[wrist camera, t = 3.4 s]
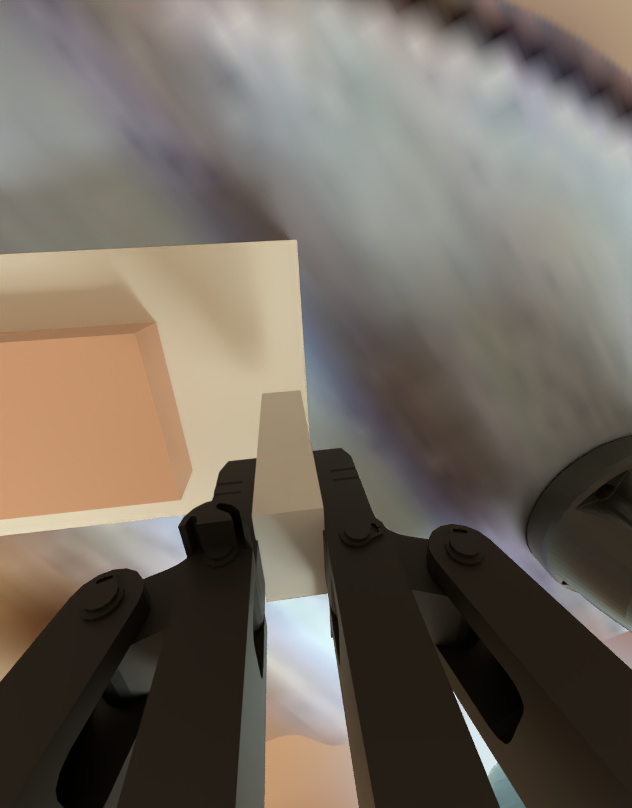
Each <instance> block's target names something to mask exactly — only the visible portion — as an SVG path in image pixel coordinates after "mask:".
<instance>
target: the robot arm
mask: <svg viewBox="0 0 632 808" xmlns="http://www.w3.org/2000/svg"><path fill="white" fill-rule="evenodd" d="M178 528H179V531H180V535H181V538H182V541H183V544H184V548H185V551H186V554H187V559H185V560H184V561H182V562H181V563H179V564H178V565H176V566H174V567H172V568H170V569H168V570H165V571H163V572H160V573H158V574H155V575H153V576H150V577H148V578H145V579H142V577H141V576H140V575H139V573H138V572H137V571H134V570H130V569H127V568H126V569H115V570H111V571H109V572H106V573H103V574H101V575H98V576H97V577H95V578H94V579H92V580H90V581H89V582H87V583H86V584H84V585H83V586H82V587H81V588H80V589H79V590H78V591H77V592H76V593H75V594H74V595H73V596H72V597H71V598H70V599H69V600H68V601H67V602H66V604H65V605H64V606H63V607H62V608H61V610H60V611H59V612H58V613H57V614H56V616H55V617H54V618H53V619H52V620H51V622H50V623H49V624H48V625H47V626H46V628H45V629H44V630H43V631H42V632H41V634H40V635H39V636H38V637H37V638H36V640H35V641H34V642H33V643H32V644H31V646H30V647H29V648H28V649H27V650H26V652H25V653H24V654H23V655H22V657H21V658H20V659H19V660H18V661H17V663H16V664H15V665H14V666H13V667H12V669H11V670H10V671H9V672H8V673H7V675H6V676H5V677H4V678H3V679H2V681H1V682H0V808H264V794H265V787H264V786H265V729H266V663H267V624H266V619H265V597H266V602H271V601H278V600H285V599H292V598H299V597H306V596H313V595H320V594H327V593H328V597H329V605H330V626H331V638H332V637H333V640H334V646H335V653H336V660H337V666H338V673H339V679H340V686H341V692H342V699H343V706H344V712H345V719H346V725H347V732H348V738H349V745H350V752H351V758H352V765H353V771H354V778H355V784H356V791H357V797H358V804H359V808H632V669H630V668H629V667H628V666H627V665H626V664H625V663H624V662H623V661H622V660H621V659H620V658H618V657H617V656H616V655H615V654H614V653H613V652H612V651H611V650H610V649H609V648H608V647H607V646H605V645H604V644H603V643H602V642H601V641H600V640H599V639H598V638H597V637H596V636H595V635H593V634H592V633H591V632H590V631H589V630H588V629H587V628H586V627H585V626H584V625H583V624H581V623H580V622H579V621H578V620H577V619H576V618H575V617H574V616H573V615H572V614H571V613H569V612H568V611H567V610H566V609H565V608H564V607H563V606H562V605H561V604H560V603H559V602H557V601H556V600H555V599H554V598H553V597H552V596H551V595H550V594H549V593H548V592H547V591H545V590H544V589H543V588H542V587H541V586H540V585H539V584H538V583H537V582H536V581H535V580H534V579H532V578H531V577H530V576H529V575H528V574H527V573H526V572H525V571H524V570H523V569H522V568H520V567H519V566H518V565H517V564H516V563H515V562H514V561H513V560H512V559H511V558H510V557H508V556H507V555H506V554H505V553H504V552H503V551H502V550H501V549H500V548H499V547H498V546H496V545H495V544H494V543H493V542H492V541H491V540H490V539H489V538H487V537H486V536H484V535H483V534H482V533H480V532H479V531H477V530H474V529H472V528H469V527H467V526H462V525H455V524H450V525H444V526H440V527H439V528H437V529H435V530H434V531H433V532H432V534H431V536H430V538H429V539H423V538H416V537H409V536H404V535H400V534H397V533H394V532H392V531H390V530H388V529H387V528H385V526H384V525H383V523H382V522H381V521H379V520H378V519H376V518H375V516H374V514H373V512H372V510H371V507H370V504H369V502H368V499H367V497H366V494H365V491H364V489H363V486H362V484H361V481H360V479H359V476H358V473H357V470H356V469H355V465H354V463H353V460H352V457H351V456H350V455H349V454H348V453H346V452H345V451H344V450H343V449H342V448H337V449H328V450H318V451H312V446H311V441H310V436H309V431H308V426H307V421H306V416H305V411H304V406H303V401H302V395H301V390H297V391H286V392H274V393H263V394H262V400H261V412H260V424H259V435H258V447H257V458H253V459H243V460H234V461H228V462H227V463H226V465H225V466H224V467H223V468H222V469H221V470H220V472H219V475H218V479H217V483H216V486H215V490H214V497H213V498H212V501H209V502H205V503H203V504H201V505H199V506H197V507H195V508H194V509H192V510H191V511H190V512H189V513H188V514H187V515H185V516H184V518H183V519H182V521H181V523H180V524H179V526H178ZM527 540H528V545H529V548H530V550H531V552H532V554H533V555H534V557H535V558H536V559H537V560H538V561H539V562H540V564H541V565H542V566H543V567H544V568H545V569H546V571H547V572H548V573H549V574H550V575H551V576H552V577H553V578H554V579H555V580H556V581H557V582H559V583H560V584H561V585H563V586H564V587H566V588H568V589H570V590H572V591H574V592H577V593H579V594H581V595H582V596H583V597H584V598H585V599H586V600H588V601H589V602H590V603H591V604H593V605H594V606H595V607H596V608H598V609H599V610H600V611H602V612H603V613H605V614H606V615H607V616H609V617H610V618H612V619H613V620H614V621H616V622H617V623H619V624H620V625H622V626H623V627H624V628H626V629H627V630H629V631H630V632H632V436H629V437H626V438H622V439H619V440H616V441H613V442H610V443H608V444H605V445H603V446H601V447H599V448H597V449H595V450H593V451H591V452H590V453H588V454H586V455H585V456H583V457H581V458H580V459H578V460H577V461H576V462H574V463H573V464H572V465H570V466H569V467H568V468H567V469H565V470H564V471H563V472H562V473H561V474H560V475H559V476H558V477H557V478H556V479H555V480H554V481H553V482H552V483H551V484H550V485H549V486H548V487H547V489H546V490H545V491H544V493H543V494H542V495H541V497H540V498H539V500H538V502H537V503H536V505H535V507H534V509H533V511H532V514H531V517H530V520H529V523H528V529H527ZM453 691H454V693H455V695H456V696H457V698H458V699H459V701H460V703H461V704H462V706H463V707H464V709H465V711H466V712H467V714H468V716H469V717H470V719H471V720H472V722H473V724H474V725H475V727H476V728H477V730H478V731H479V733H480V735H481V736H482V738H483V740H484V741H485V743H486V744H487V746H488V747H489V749H490V751H491V752H492V754H493V755H494V757H495V759H496V760H497V762H498V763H497V764H496V765H495V766H494V767H493V768H492V770H491V771H490V773H489V775H488V776H487V774H486V771H485V769H484V766H483V764H482V762H481V759H480V757H479V754H478V752H477V750H476V747H475V745H474V742H473V740H472V737H471V735H470V732H469V730H468V727H467V725H466V722H465V720H464V718H463V715H462V712H461V710H460V708H459V705H458V703H457V700H456V698H455V695H454V693H453Z"/></svg>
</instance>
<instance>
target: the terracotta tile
mask: <svg viewBox="0 0 632 808" xmlns="http://www.w3.org/2000/svg"><path fill="white" fill-rule="evenodd" d="M192 471H193V469H192V465H191V461H190V457H189V453H188V449H187V445H186V441H185V437H184V433H183V429H182V425H181V421H180V417H179V413H178V408H177V404H176V400H175V396H174V392H173V388H172V384H171V380H170V376H169V372H168V368H167V364H166V360H165V356H164V352H163V348H162V344H161V340H160V336H159V332H158V328H157V324H156V322H151V323H136V324H121V325H106V326H91V327H76V328H61V329H46V330H31V331H17V332H2V333H0V520H3V519H12V518H21V517H30V516H40V515H49V514H58V513H67V512H76V511H85V510H95V509H104V508H113V507H122V506H131V505H140V504H149V503H159V502H168V501H177V500H181V499H182V497H183V494H184V492H185V489H186V486H187V484H188V481H189V479H190V476H191V474H192Z"/></svg>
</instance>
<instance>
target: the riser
mask: <svg viewBox="0 0 632 808" xmlns="http://www.w3.org/2000/svg"><path fill="white" fill-rule="evenodd" d="M151 322H156V324H157V328H158V332H159V336H160V340H161V344H162V348H163V352H164V356H165V360H166V364H167V368H168V372H169V376H170V380H171V384H172V388H173V392H174V396H175V400H176V404H177V408H178V413H179V417H180V421H181V425H182V429H183V433H184V437H185V441H186V445H187V449H188V453H189V457H190V461H191V465H192V469H193V471H192V474H191V476H190V479H189V481H188V484H187V486H186V489H185V492H184V494H183V497H182V499H181V500H177V501H168V502H159V503H149V504H140V505H131V506H122V507H113V508H104V509H95V510H85V511H76V512H67V513H58V514H49V515H40V516H30V517H21V518H12V519H3V520H0V536H3V535H12V534H21V533H30V532H39V531H47V530H56V529H65V528H74V527H83V526H92V525H101V524H109V523H118V522H127V521H136V520H145V519H154V518H162V517H171V516H180V515H187V514H188V513H189V512H190V511H191V510H192V509H194V508H195V507H197V506H199V505H201V504H203V503H205V502H209V501H212V498H213V497H214V490H215V486H216V483H217V479H218V475H219V472H220V470H221V469H222V468H223V467H224V466H225V465H226V463H227V462H228V461H234V460H243V459H253V458H257V447H258V435H259V424H260V412H261V400H262V394H263V393H274V392H286V391H297V390H301V395H302V401H303V406H304V411H305V416H306V421H307V426H308V431H309V419H308V403H307V388H306V373H305V357H304V342H303V327H302V311H301V296H300V281H299V265H298V250H297V240H281V241H261V242H240V243H220V244H200V245H179V246H159V247H139V248H118V249H98V250H78V251H57V252H37V253H17V254H0V333H2V332H17V331H31V330H46V329H61V328H76V327H91V326H106V325H121V324H136V323H151ZM309 436H310V434H309Z"/></svg>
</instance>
